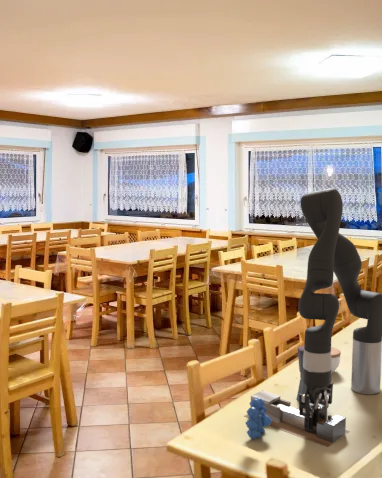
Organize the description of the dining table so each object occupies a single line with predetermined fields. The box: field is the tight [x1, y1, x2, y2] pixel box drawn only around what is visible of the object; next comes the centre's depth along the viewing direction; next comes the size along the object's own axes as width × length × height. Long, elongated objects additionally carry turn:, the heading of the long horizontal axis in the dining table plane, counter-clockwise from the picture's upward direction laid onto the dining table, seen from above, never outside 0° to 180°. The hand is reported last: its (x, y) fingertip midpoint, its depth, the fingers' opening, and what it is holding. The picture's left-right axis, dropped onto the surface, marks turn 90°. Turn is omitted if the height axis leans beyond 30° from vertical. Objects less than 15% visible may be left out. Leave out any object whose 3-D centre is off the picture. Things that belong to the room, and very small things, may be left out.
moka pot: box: [296, 345, 307, 402], centre depth 169 cm, size 10×15×20 cm, turn 161°
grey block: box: [276, 403, 326, 434], centre depth 151 cm, size 4×18×7 cm, turn 47°
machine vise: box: [243, 389, 350, 448], centre depth 153 cm, size 12×27×7 cm, turn 47°
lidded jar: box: [331, 346, 341, 374], centre depth 200 cm, size 11×11×9 cm
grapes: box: [245, 398, 272, 440], centre depth 145 cm, size 12×7×12 cm, turn 156°
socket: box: [316, 413, 347, 444], centre depth 145 cm, size 7×5×5 cm
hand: (315, 425), depth 149 cm, fingers open, 7 cm apart
